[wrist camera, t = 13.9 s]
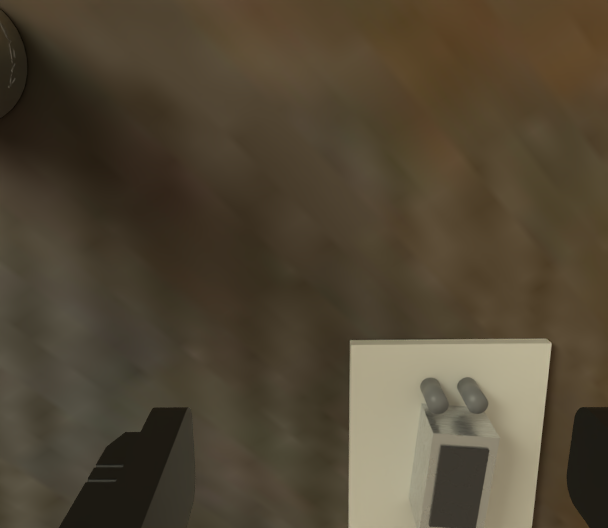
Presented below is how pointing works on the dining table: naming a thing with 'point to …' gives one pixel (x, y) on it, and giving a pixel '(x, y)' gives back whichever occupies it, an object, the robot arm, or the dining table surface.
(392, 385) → the pin tray
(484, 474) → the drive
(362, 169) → the dining table surface
